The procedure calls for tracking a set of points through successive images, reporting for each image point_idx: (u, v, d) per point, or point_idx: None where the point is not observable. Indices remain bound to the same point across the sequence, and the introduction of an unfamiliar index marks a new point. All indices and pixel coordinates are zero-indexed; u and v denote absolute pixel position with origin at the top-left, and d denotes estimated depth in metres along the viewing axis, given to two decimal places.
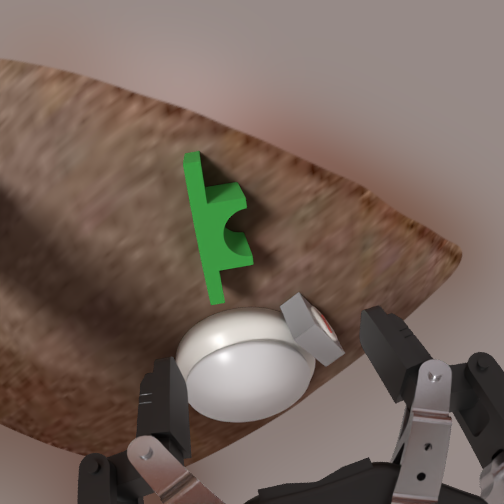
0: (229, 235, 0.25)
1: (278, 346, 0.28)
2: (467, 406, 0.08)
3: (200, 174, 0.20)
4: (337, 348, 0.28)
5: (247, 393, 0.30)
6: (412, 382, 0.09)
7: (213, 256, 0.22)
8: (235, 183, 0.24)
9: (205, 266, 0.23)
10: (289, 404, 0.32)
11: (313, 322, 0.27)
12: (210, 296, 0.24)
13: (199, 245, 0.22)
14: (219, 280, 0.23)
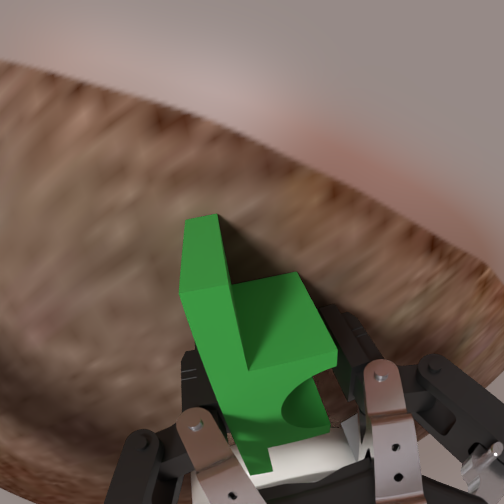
0: None
1: None
2: (421, 408, 0.09)
3: (230, 316, 0.07)
4: None
5: None
6: (359, 381, 0.09)
7: (257, 436, 0.10)
8: (295, 279, 0.12)
9: (241, 447, 0.10)
10: None
11: None
12: (249, 470, 0.12)
13: (231, 427, 0.10)
14: (267, 456, 0.11)
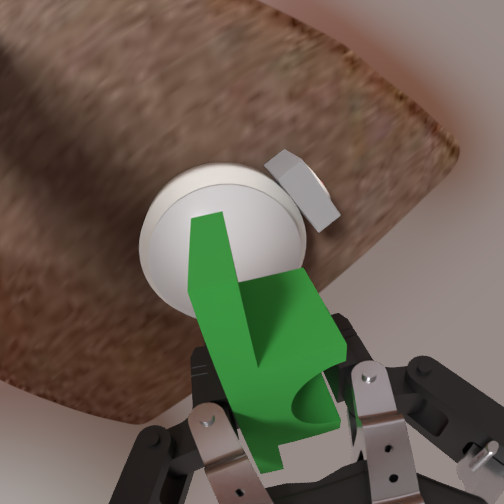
0: None
1: None
2: (411, 411, 0.09)
3: (239, 312, 0.07)
4: (331, 205, 0.25)
5: None
6: (347, 382, 0.10)
7: (268, 433, 0.10)
8: (302, 275, 0.12)
9: (252, 444, 0.10)
10: None
11: (300, 159, 0.23)
12: (260, 468, 0.12)
13: (241, 425, 0.10)
14: (277, 453, 0.11)
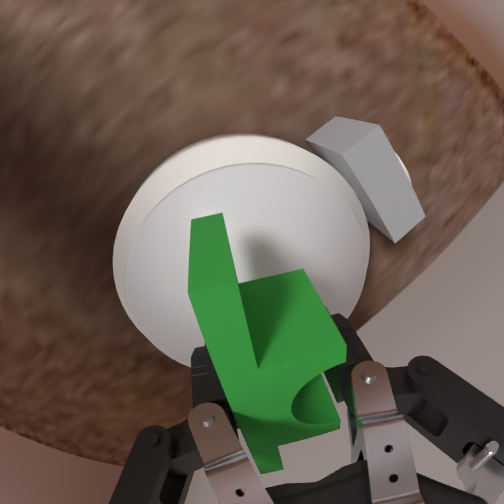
0: None
1: (311, 178, 0.14)
2: (410, 410, 0.09)
3: (239, 314, 0.07)
4: (414, 200, 0.15)
5: None
6: (347, 382, 0.10)
7: (268, 434, 0.10)
8: (302, 276, 0.12)
9: (252, 445, 0.10)
10: None
11: (374, 125, 0.13)
12: (260, 468, 0.12)
13: (241, 426, 0.10)
14: (277, 454, 0.11)
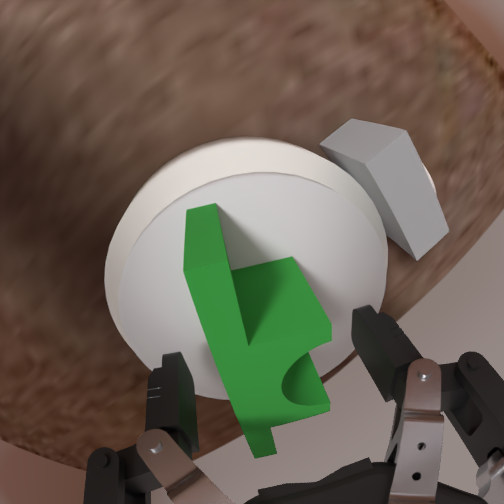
0: None
1: None
2: (457, 406, 0.08)
3: (230, 291, 0.08)
4: (439, 214, 0.13)
5: None
6: (401, 381, 0.09)
7: (260, 414, 0.11)
8: (291, 263, 0.13)
9: (245, 426, 0.11)
10: (337, 360, 0.17)
11: (400, 130, 0.11)
12: (254, 452, 0.12)
13: (234, 405, 0.10)
14: (270, 436, 0.12)
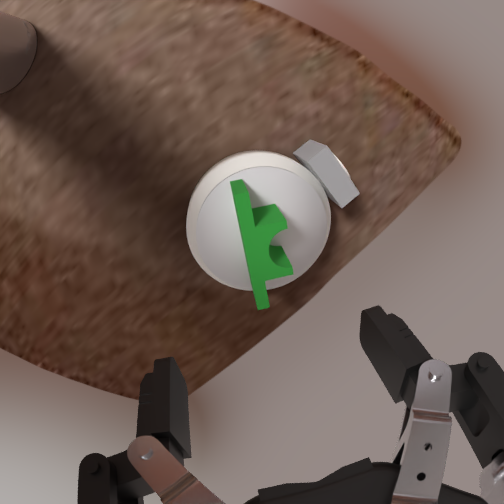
0: (270, 250, 0.30)
1: (292, 173, 0.28)
2: (467, 406, 0.08)
3: (249, 202, 0.24)
4: (351, 184, 0.29)
5: None
6: (412, 382, 0.09)
7: (260, 269, 0.27)
8: (274, 205, 0.29)
9: (253, 278, 0.27)
10: (306, 266, 0.33)
11: (325, 145, 0.27)
12: (257, 302, 0.28)
13: (248, 261, 0.26)
14: (265, 289, 0.28)
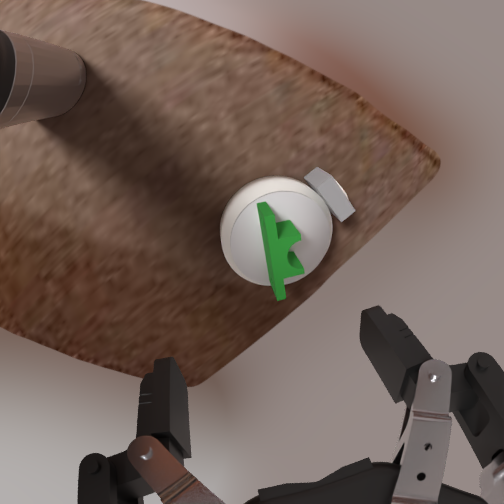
0: None
1: (305, 196, 0.37)
2: (467, 406, 0.08)
3: (274, 222, 0.33)
4: (349, 204, 0.38)
5: None
6: (412, 382, 0.09)
7: (280, 270, 0.36)
8: (289, 221, 0.38)
9: (275, 276, 0.36)
10: (313, 266, 0.42)
11: (330, 175, 0.36)
12: (277, 295, 0.38)
13: (272, 264, 0.35)
14: (283, 284, 0.37)
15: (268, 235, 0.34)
